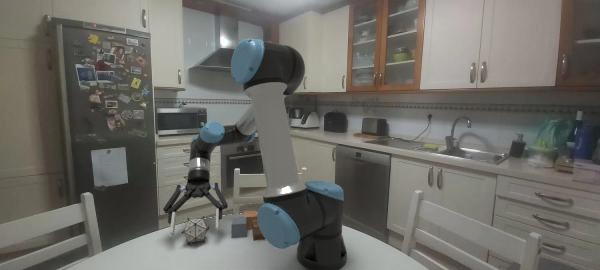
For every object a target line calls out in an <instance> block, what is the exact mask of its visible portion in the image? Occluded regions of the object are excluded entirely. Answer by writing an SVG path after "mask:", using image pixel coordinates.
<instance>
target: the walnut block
mask: <svg viewBox="0 0 600 270" xmlns="http://www.w3.org/2000/svg"><path fill="white" fill-rule="evenodd" d="M251 230H252V238H253V239H252V240H253V241H263V240H266V239H265V237H264V236H263V234H262V233H261V231H260V228H259V225H258V221H257V220H252V229H251Z"/></svg>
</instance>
